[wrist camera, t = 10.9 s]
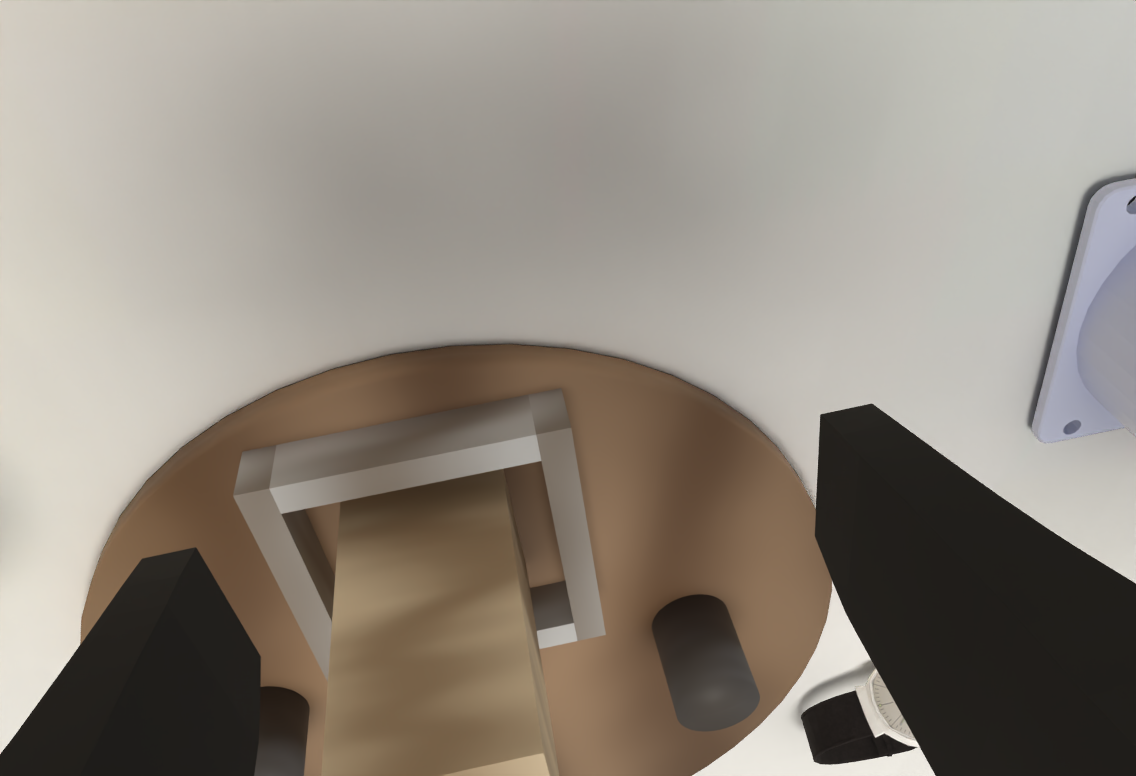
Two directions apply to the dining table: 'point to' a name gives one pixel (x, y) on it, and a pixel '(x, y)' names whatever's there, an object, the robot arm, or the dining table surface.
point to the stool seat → (547, 533)
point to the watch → (857, 725)
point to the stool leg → (435, 638)
